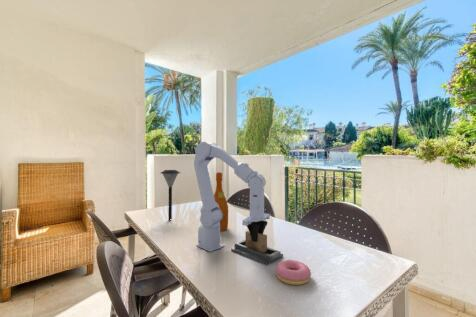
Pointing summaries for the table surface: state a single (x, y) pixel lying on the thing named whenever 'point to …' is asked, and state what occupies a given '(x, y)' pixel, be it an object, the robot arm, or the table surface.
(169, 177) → the solar garden light
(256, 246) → the door panel
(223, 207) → the wine bottle
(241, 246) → the floor track
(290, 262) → the doughnut
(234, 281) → the table surface
